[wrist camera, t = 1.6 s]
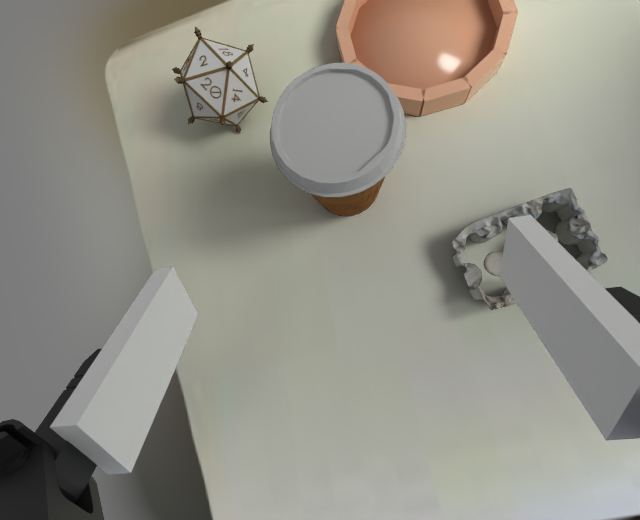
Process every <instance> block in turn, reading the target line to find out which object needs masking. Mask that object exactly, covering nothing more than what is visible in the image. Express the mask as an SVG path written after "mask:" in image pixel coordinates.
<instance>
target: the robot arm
mask: <svg viewBox="0 0 640 520" xmlns="http://www.w3.org/2000/svg"><path fill="white" fill-rule="evenodd" d="M499 277H500V278H501V280H502V281H503V283H504V284H505V286H506V287H507V289H508V290H509V292H510V294H511V295H512V297H513V298H514V300H515V301H516V303H517V304H518V306H519V307H520V309H521V310H522V312H523V313H524V315H525V317H526V318H527V320H528V321H529V323H530V324H531V326H532V327H533V329H534V330H535V332H536V333H537V335H538V336H539V338H540V340H541V341H542V343H543V344H544V346H545V347H546V349H547V350H548V352H549V353H550V355H551V356H552V358H553V359H554V361H555V363H556V364H557V366H558V367H559V369H560V370H561V372H562V373H563V375H564V376H565V378H566V379H567V381H568V382H569V384H570V386H571V387H572V389H573V390H574V392H575V393H576V395H577V396H578V398H579V399H580V401H581V402H582V404H583V405H584V407H585V409H586V410H587V412H588V413H589V415H590V416H591V418H592V419H593V421H594V422H595V424H596V425H597V427H598V428H599V430H600V432H601V433H602V435H603V436H604V438H605V439H606V440H619V439H634V438H640V297H639V296H637V295H635V294H633V293H631V292H630V291H628V290H626V289H624V288H622V287H614V288H606V289H605V288H604V287H603V286H602V285H601V284H600V283H599V282H598V281H597V280H596V279H595V278H594V277H593V276H592V275H591V274H590V273H589V272H588V271H587V270H586V269H585V268H584V267H583V266H582V265H581V264H580V263H578V262H577V261H576V260H575V259H574V258H573V257H572V256H571V255H570V254H569V253H568V252H567V251H566V250H565V249H564V248H563V247H562V246H561V245H560V244H559V243H558V242H557V241H556V240H555V239H554V238H553V237H552V236H551V235H550V234H549V233H548V232H547V231H546V230H545V229H544V228H543V227H542V226H541V225H540V224H539V223H538V222H537V221H536V220H535V219H534V218H533V217H532V216H531V215H526V216H519V217H512V218H508V224H507V230H506V237H505V243H504V250H503V256H502V263H501V269H500V275H499ZM197 317H198V313H197V311H196V309H195V307H194V305H193V303H192V302H191V300H190V298H189V296H188V294H187V292H186V291H185V289H184V287H183V285H182V283H181V281H180V280H179V278H178V276H177V274H176V272H175V270H174V269H173V267H168V268H161V269H155V270H154V272H153V273H152V275H151V276H150V278H149V279H148V281H147V283H146V284H145V285H144V287H143V289H142V290H141V292H140V293H139V295H138V296H137V298H136V299H135V300H134V302H133V303H132V305H131V306H130V308H129V309H128V311H127V312H126V314H125V316H124V317H123V318H122V320H121V321H120V323H119V324H118V326H117V327H116V329H115V331H114V332H113V333H112V335H111V336H110V338H109V339H108V341H107V342H106V344H105V345H104V347H103V348H102V349H97V350H96V351H95V352H94V353H93V354H92V355H91V356H90V357H89V358H88V359H87V360H85V362H83V364H82V365H81V367H80V368H79V370H78V371H77V373H76V374H75V375H74V377H75V378H74V379H72V380H71V381H70V383H69V384H68V386H67V387H66V388H67V389H66V390H64V391H63V393H62V394H61V396H60V397H59V398H58V400H57V401H56V403H55V404H54V406H53V407H52V408H51V410H50V412H49V413H48V414H47V416H46V417H45V419H44V420H43V422H42V423H41V424H40V426H39V427H38V429H37V430H36V432H35V433H34V432H33V431H32V430H30V429H29V428H27V427H26V426H25V425H23V424H22V423H21V422H20V421H17V420H14V419H12V420H7V421H3V422H1V423H0V520H104V517H103V512H102V507H101V502H100V497H99V493H98V488H97V483H96V482H95V480H94V478H93V477H91V476H92V474H93V472H94V470H95V468H96V466H98V467H99V468H100V469H101V470H103V471H104V472H105V473H106V474H122V473H131V471H132V469H133V467H134V465H135V462H136V460H137V458H138V455H139V453H140V450H141V448H142V446H143V443H144V441H145V438H146V436H147V434H148V432H149V429H150V427H151V425H152V422H153V420H154V417H155V415H156V413H157V411H158V408H159V406H160V403H161V401H162V399H163V396H164V394H165V392H166V389H167V387H168V385H169V382H170V380H171V378H172V375H173V373H174V370H175V368H176V366H177V364H178V361H179V359H180V357H181V354H182V352H183V350H184V347H185V345H186V342H187V340H188V338H189V335H190V333H191V331H192V328H193V326H194V324H195V321H196V319H197Z"/></svg>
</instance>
